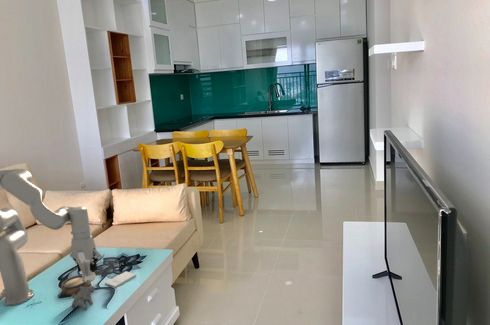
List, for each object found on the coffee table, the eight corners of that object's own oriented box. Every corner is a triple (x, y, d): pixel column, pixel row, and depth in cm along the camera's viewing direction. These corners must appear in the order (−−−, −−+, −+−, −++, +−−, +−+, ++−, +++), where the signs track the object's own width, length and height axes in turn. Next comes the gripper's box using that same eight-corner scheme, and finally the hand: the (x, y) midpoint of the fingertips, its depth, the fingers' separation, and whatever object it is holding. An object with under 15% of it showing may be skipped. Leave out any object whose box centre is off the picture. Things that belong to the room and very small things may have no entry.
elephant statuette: (69, 313, 173) (65, 297, 171) (80, 296, 185) (77, 281, 182) (90, 311, 173) (87, 295, 171) (100, 295, 184) (97, 280, 182)
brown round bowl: (56, 295, 189) (54, 287, 188) (73, 280, 201) (72, 274, 200) (79, 296, 186) (78, 288, 185) (96, 281, 198) (95, 274, 197)
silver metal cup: (91, 283, 182) (86, 252, 179) (77, 282, 184) (72, 252, 180) (100, 275, 189) (95, 245, 186) (86, 275, 190) (81, 245, 187)
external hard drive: (136, 277, 199) (115, 289, 190) (126, 273, 204) (105, 285, 195) (135, 274, 199) (114, 286, 189) (125, 271, 204) (104, 282, 194)
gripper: (59, 236, 180) (66, 273, 184) (93, 238, 176) (99, 275, 180) (70, 230, 187) (76, 265, 191) (103, 231, 183) (109, 267, 187)
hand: (87, 270), depth 185 cm, fingers closed on silver metal cup, 6 cm apart
